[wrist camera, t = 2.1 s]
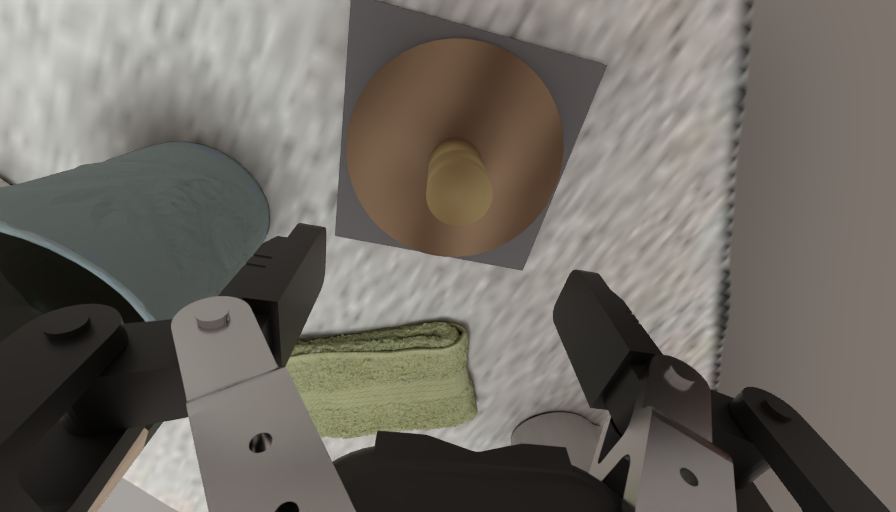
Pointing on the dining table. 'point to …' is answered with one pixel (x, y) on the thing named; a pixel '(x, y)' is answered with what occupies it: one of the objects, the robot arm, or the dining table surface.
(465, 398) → the washcloth
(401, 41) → the mat
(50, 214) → the grey-blue cup
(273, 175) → the dining table surface
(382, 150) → the lid
